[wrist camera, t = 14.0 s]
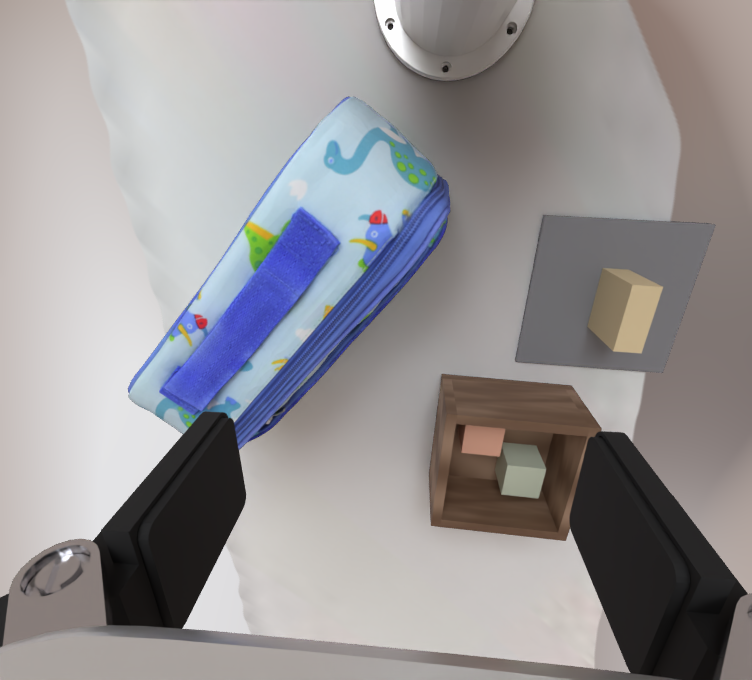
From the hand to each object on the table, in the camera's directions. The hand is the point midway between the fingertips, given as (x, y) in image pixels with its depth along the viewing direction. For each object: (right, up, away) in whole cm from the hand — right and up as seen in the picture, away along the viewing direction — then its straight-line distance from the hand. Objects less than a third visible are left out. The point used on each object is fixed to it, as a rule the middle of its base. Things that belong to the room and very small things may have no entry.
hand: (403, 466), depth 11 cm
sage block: (+15, -10, +37) cm, 41 cm away
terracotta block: (+11, -5, +35) cm, 37 cm away
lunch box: (-6, +12, +31) cm, 34 cm away
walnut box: (+13, -7, +37) cm, 40 cm away
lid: (+22, +8, +30) cm, 38 cm away
